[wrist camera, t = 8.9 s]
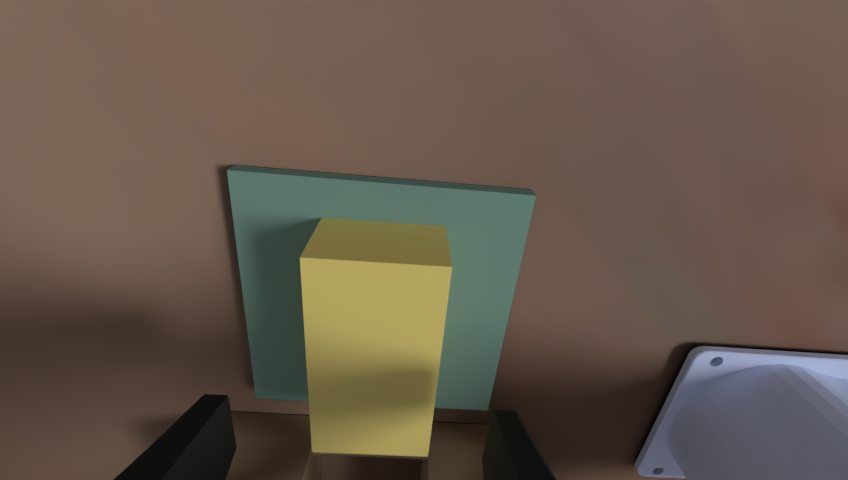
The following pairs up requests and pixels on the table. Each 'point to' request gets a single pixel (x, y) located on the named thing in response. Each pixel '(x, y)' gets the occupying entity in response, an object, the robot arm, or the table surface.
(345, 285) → the slab
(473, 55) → the table surface
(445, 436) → the pocket board
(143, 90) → the table surface
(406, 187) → the mat
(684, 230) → the table surface
